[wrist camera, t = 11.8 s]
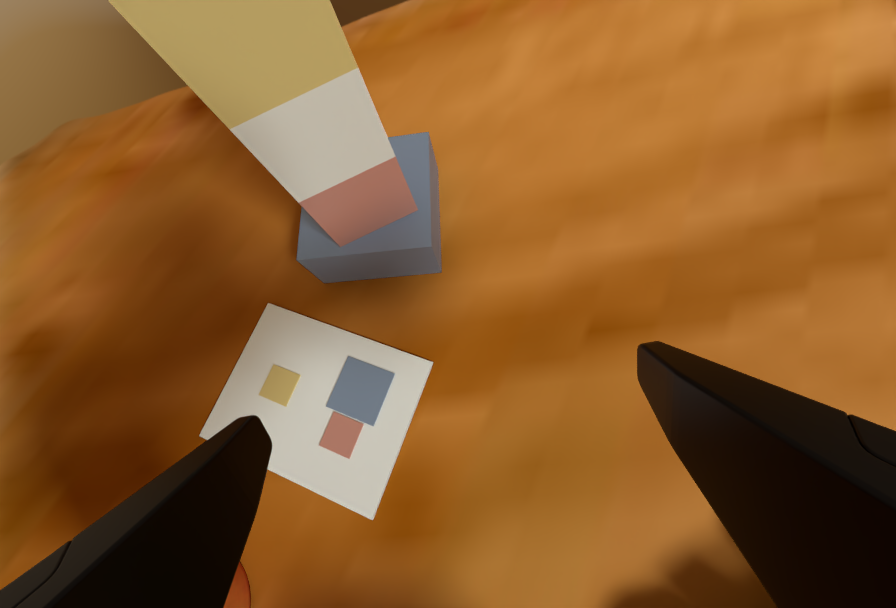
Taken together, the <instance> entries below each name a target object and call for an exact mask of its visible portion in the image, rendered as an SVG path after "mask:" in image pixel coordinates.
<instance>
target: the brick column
mask: <svg viewBox="0 0 896 608" xmlns="http://www.w3.org/2000/svg"><path fill="white" fill-rule="evenodd" d="M108 1H109V2H110V3H111V4H112V5H113V6H114V7H115V8H116V10H117V11H118V12H119V13H120V14H121V15H122V16H123V17H124V18H125V19H126V20H127V21H128V22H129V23H130V24H131V25H132V27H133V28H134V29H135V30H136V31H137V32H138V33H139V34H140V35H141V36H142V37H143V38H144V39H145V40H146V41H147V42H148V43H149V44H150V46H151V47H152V48H153V49H154V50H155V51H156V52H157V53H158V54H159V55H160V56H161V57H162V58H163V59H164V60H165V61H166V63H167V64H168V65H169V66H170V67H171V68H172V69H173V70H174V71H175V72H176V73H177V74H178V75H179V76H180V77H181V79H182V80H183V81H184V82H185V83H186V84H187V85H188V86H189V87H190V88H191V89H192V90H193V91H194V92H195V93H196V94H197V96H198V97H199V98H200V99H201V100H202V101H203V102H204V103H205V104H206V105H207V106H208V107H209V108H210V109H211V110H212V111H213V113H214V114H215V115H216V116H217V117H218V118H219V119H220V120H221V121H222V122H223V123H224V124H225V125H226V126H227V127H228V128H229V130H230V131H231V132H232V133H233V134H234V135H235V136H236V137H237V138H238V139H239V140H240V141H241V142H242V143H243V144H244V145H245V146H246V148H247V149H248V150H249V151H250V152H251V153H252V154H253V155H254V156H255V157H256V158H257V159H258V160H259V161H260V162H261V163H262V165H263V166H264V167H265V168H266V169H267V170H268V171H269V172H270V173H271V174H272V175H273V176H274V177H275V178H276V179H277V180H278V182H279V183H280V184H281V185H282V186H283V187H284V188H285V189H286V190H287V191H288V192H289V193H290V194H291V195H292V196H293V197H294V199H295V200H296V201H297V202H298V203H299V204H300V205H301V206H302V207H303V208H304V209H305V210H306V211H307V212H308V213H309V214H310V216H311V217H312V218H313V219H314V220H315V221H316V222H317V223H318V224H319V225H320V226H321V227H322V228H323V229H324V230H325V231H326V233H327V234H328V235H329V236H330V237H331V238H332V239H333V240H334V241H335V242H336V243H337V244H338V245H339V246H340V247H342V246H344V245H346V244H348V243H350V242H352V241H354V240H357V239H359V238H361V237H363V236H365V235H367V234H369V233H371V232H373V231H375V230H377V229H380V228H382V227H384V226H386V225H388V224H390V223H392V222H394V221H396V220H398V219H401V218H403V217H405V216H407V215H409V214H411V213H413V212H415V211H417V210H418V208H417V206H416V204H415V201H414V199H413V196H412V194H411V192H410V189H409V187H408V185H407V182H406V180H405V178H404V175H403V173H402V170H401V168H400V166H399V163H398V161H397V159H396V156H395V154H394V151H393V149H392V147H391V144H390V142H389V140H388V137H387V135H386V133H385V130H384V128H383V125H382V123H381V121H380V118H379V116H378V114H377V111H376V109H375V106H374V104H373V102H372V99H371V97H370V95H369V92H368V90H367V87H366V85H365V83H364V80H363V78H362V76H361V73H360V71H359V69H358V66H357V64H356V61H355V59H354V57H353V54H352V52H351V50H350V47H349V45H348V42H347V40H346V38H345V35H344V33H343V31H342V28H341V26H340V24H339V21H338V19H337V17H336V14H335V12H334V9H333V7H332V5H331V2H330V0H108Z"/></svg>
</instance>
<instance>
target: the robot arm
mask: <svg viewBox="0 0 896 608" xmlns="http://www.w3.org/2000/svg"><path fill="white" fill-rule="evenodd" d="M637 376H638V381H639V383H640V386H641V388H642V390H643V392H644V394H645V396H646V398H647V400H648V402H649V403H650V405H651V407H652V409H653V411H654V413H655V415H656V417H657V419H658V421H659V423H660V425H661V427H662V429H663V431H664V433H665V435H666V437H667V439H668V441H669V442H670V444H671V446H672V447H673V449H674V451H675V452H676V454H677V455H678V457H679V458H680V460H681V461H682V463H683V464H684V466H685V468H686V469H687V471H688V472H689V474H690V475H691V477H692V478H693V480H694V481H695V483H696V484H697V486H698V487H699V489H700V490H701V492H702V493H703V495H704V496H705V498H706V499H707V501H708V502H709V504H710V506H711V507H712V509H713V510H714V512H715V513H716V515H717V516H718V518H719V519H720V521H721V522H722V524H723V525H724V527H725V528H726V530H727V531H728V533H729V534H730V536H731V537H732V539H733V540H734V542H735V544H736V545H737V547H738V548H739V550H740V551H741V553H742V554H743V556H744V557H745V559H746V560H747V562H748V563H749V565H750V566H751V568H752V569H753V571H754V572H755V574H756V575H757V577H758V578H759V580H760V582H761V583H762V585H763V586H764V588H765V589H766V591H767V592H768V594H769V595H770V597H771V598H772V600H773V601H774V603H775V604H776V606H777V607H778V608H896V431H894V430H892V429H889V428H886V427H883V426H881V425H878V424H875V423H873V422H870V421H868V420H865V419H862V418H860V417H857V416H854V415H848V416H847V414H846V413H845V412H844V411H841V410H838V409H836V408H833V407H831V406H828V405H825V404H823V403H820V402H817V401H815V400H812V399H809V398H807V397H804V396H802V395H799V394H796V393H794V392H791V391H788V390H786V389H783V388H781V387H778V386H775V385H773V384H770V383H767V382H765V381H762V380H760V379H757V378H754V377H752V376H749V375H746V374H744V373H741V372H739V371H736V370H733V369H731V368H728V367H725V366H723V365H720V364H718V363H715V362H712V361H710V360H707V359H704V358H702V357H699V356H697V355H694V354H691V353H689V352H686V351H683V350H681V349H678V348H676V347H673V346H670V345H668V344H665V343H662V342H660V341H654V342H648V343H643V344H640V345H639V346H638V349H637ZM271 452H272V441H271V438H270V436H269V434H268V432H267V431H266V429H265V427H264V425H263V423H262V422H261V420H260V418H259V417H258V416H256V415H250V416H244V417H239V418H237V419H236V420H234V421H233V422H231V423H230V424H229V425H227V426H226V427H225V428H223V429H222V430H221V431H219V432H218V433H216V434H215V435H214V436H212V437H211V438H210V439H208V440H207V441H205V442H204V443H203V444H201V445H200V446H199V447H197V448H196V449H194V450H193V451H192V452H190V453H189V454H188V455H186V456H185V457H184V458H182V459H181V460H179V461H178V462H177V463H175V464H174V465H173V466H171V467H170V468H168V469H167V470H166V471H164V472H163V473H162V474H160V475H159V476H158V477H156V478H155V479H153V480H152V481H151V482H149V483H148V484H147V485H145V486H144V487H142V488H141V489H140V490H138V491H137V492H136V493H134V494H133V495H131V496H130V497H129V498H127V499H126V500H125V501H123V502H122V503H121V504H119V505H118V506H116V507H115V508H114V509H112V510H111V511H110V512H108V513H107V514H105V515H104V516H103V517H101V518H100V519H99V520H97V521H96V522H94V523H93V524H92V525H90V526H89V527H88V528H86V529H85V530H84V531H82V532H81V533H79V534H78V535H77V536H75V537H74V538H73V540H72V541H68V542H67V543H66V544H64V545H63V546H61V547H60V548H59V549H57V550H56V551H55V552H53V553H52V554H51V555H49V556H48V557H46V558H45V559H44V560H42V561H41V562H39V563H38V564H37V565H35V566H34V567H32V568H31V569H30V570H28V571H27V572H25V573H24V574H23V575H21V576H20V577H18V578H17V579H16V580H14V581H13V582H11V583H10V584H9V585H7V586H6V587H4V588H3V589H1V590H0V608H224V605H225V602H226V599H227V596H228V593H229V590H230V588H231V585H232V582H233V579H234V576H235V573H236V570H237V567H238V565H239V562H240V559H241V556H242V553H243V550H244V547H245V544H246V542H247V539H248V536H249V533H250V530H251V527H252V524H253V521H254V518H255V515H256V512H257V508H258V505H259V501H260V497H261V493H262V489H263V485H264V481H265V477H266V472H267V468H268V464H269V460H270V456H271Z"/></svg>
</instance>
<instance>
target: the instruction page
mask: <svg viewBox="0 0 896 608" xmlns="http://www.w3.org/2000/svg"><path fill="white" fill-rule="evenodd" d="M432 365H433V362H431V361H428V360H425V359H423V358H420V357H417V356H414V355H412V354H409V353H406V352H403V351H400V350H398V349H395V348H392V347H389V346H387V345H384V344H381V343H378V342H375V341H373V340H370V339H367V338H364V337H362V336H359V335H356V334H353V333H350V332H348V331H345V330H342V329H339V328H337V327H334V326H331V325H328V324H326V323H323V322H320V321H317V320H314V319H312V318H309V317H306V316H303V315H301V314H298V313H295V312H292V311H289V310H287V309H284V308H281V307H278V306H276V305H273V304H270V303H268V304H267V306H266V308H265V310H264V312H263V314H262V316H261V318H260V320H259V321H258V323H257V325H256V327H255V329H254V331H253V333H252V335H251V337H250V339H249V341H248V343H247V344H246V346H245V348H244V350H243V352H242V354H241V356H240V358H239V360H238V362H237V364H236V366H235V368H234V369H233V371H232V373H231V375H230V377H229V379H228V381H227V383H226V385H225V387H224V389H223V391H222V393H221V394H220V396H219V398H218V400H217V402H216V404H215V406H214V408H213V410H212V412H211V414H210V416H209V418H208V419H207V421H206V423H205V425H204V427H203V429H202V431H201V433H200V435H199V436H200V437H202V438H204V439H206V440H208V439H210V438H211V437H212V436H214V435H215V434H216V433H218V432H219V431H221V430H222V429H223V428H225V427H226V426H227V425H229V424H230V423H231V422H233V421H234V420H236V419H237V418H239V417H244V416H250V415H256V416H258V417H259V418H260V420H261V422H262V423H263V425H264V427H265V429H266V431H267V432H268V434H269V436H270V438H271V441H272V452H271V456H270V460H269V464H268V468H267V469H268V470H270V471H272V472H274V473H276V474H278V475H280V476H282V477H284V478H287V479H289V480H291V481H293V482H295V483H297V484H299V485H301V486H303V487H305V488H307V489H309V490H311V491H313V492H315V493H317V494H319V495H322V496H324V497H326V498H328V499H330V500H332V501H334V502H336V503H338V504H340V505H342V506H344V507H346V508H348V509H350V510H352V511H354V512H357V513H359V514H361V515H363V516H365V517H367V518H369V519H371V520H373V519H374V516H375V514H376V511H377V509H378V506H379V503H380V501H381V498H382V496H383V493H384V490H385V488H386V485H387V482H388V480H389V477H390V475H391V472H392V469H393V467H394V464H395V462H396V459H397V456H398V454H399V451H400V449H401V446H402V443H403V441H404V438H405V436H406V433H407V430H408V428H409V425H410V423H411V420H412V417H413V415H414V412H415V410H416V407H417V404H418V402H419V399H420V397H421V394H422V391H423V389H424V386H425V384H426V381H427V378H428V376H429V373H430V370H431V368H432Z"/></svg>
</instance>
